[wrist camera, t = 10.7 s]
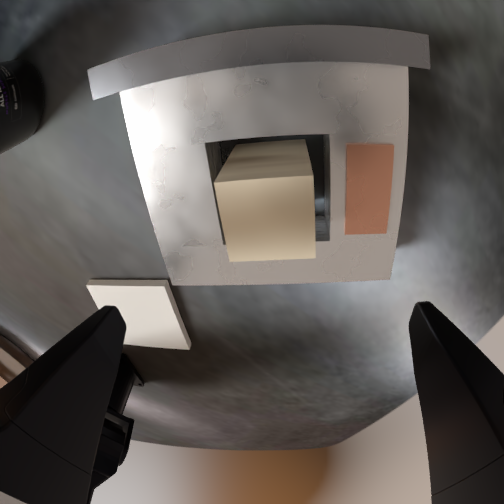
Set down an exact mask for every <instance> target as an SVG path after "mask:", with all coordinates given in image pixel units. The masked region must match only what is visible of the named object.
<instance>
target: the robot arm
mask: <svg viewBox="0 0 504 504" xmlns="http://www.w3.org/2000/svg"><path fill="white" fill-rule="evenodd" d="M125 334H126V323H125V321H124V319H123V317H122V315H121V313H120V311H119V309H118V308H117V307H116V306H111V305H105V306H103V307H102V308H100V309H99V310H98V311H97V312H95V313H94V314H93V315H91V316H90V317H89V318H88V319H86V320H85V321H84V322H82V323H81V324H80V325H79V326H77V327H76V328H75V329H74V330H72V331H71V332H70V333H69V334H67V335H66V336H65V337H64V338H62V339H61V340H60V341H59V342H57V343H56V344H55V345H54V346H52V347H51V348H50V349H49V350H47V351H46V352H45V353H44V354H43V355H41V356H40V357H39V358H38V359H36V360H35V361H34V362H33V363H32V364H30V365H29V367H27V368H26V369H24V370H23V371H22V372H21V373H20V374H19V375H17V376H16V377H15V378H14V379H12V380H11V381H10V382H9V383H7V384H6V385H5V386H3V387H2V388H1V389H0V504H90V502H91V499H92V495H93V492H94V489H95V488H96V487H98V486H99V485H100V484H102V483H103V482H104V481H106V480H107V479H108V478H110V477H111V476H112V475H114V474H115V473H116V472H117V467H118V466H120V465H121V464H122V463H123V461H124V459H125V457H126V454H127V452H128V449H129V444H130V439H131V434H132V429H133V424H134V419H132V418H128V417H126V416H124V415H122V414H123V411H124V409H125V406H126V403H127V400H128V398H129V395H130V392H131V389H132V387H133V385H135V386H141V387H143V386H144V384H145V383H144V381H143V380H142V379H141V377H140V376H139V374H138V373H137V371H136V370H135V368H134V367H133V365H132V364H131V362H130V361H129V359H128V358H127V356H126V355H124V354H121V353H122V348H123V343H124V339H125ZM409 334H410V341H411V349H412V357H413V367H414V375H415V380H416V385H417V390H418V395H419V400H420V406H421V411H422V417H423V424H424V430H425V436H426V444H427V452H428V460H429V470H430V482H431V494H432V496H431V499H432V504H504V374H503V373H502V372H501V371H500V370H499V369H498V368H497V367H496V366H495V365H494V364H493V363H492V362H491V361H490V360H489V359H488V358H487V356H486V355H484V353H483V352H482V351H481V350H480V349H479V348H478V347H477V346H476V345H475V344H474V343H473V342H472V341H471V340H470V339H469V338H468V337H467V336H466V335H465V334H464V333H463V332H462V331H460V330H459V329H458V328H457V327H456V326H455V325H454V324H453V323H452V322H451V321H450V320H449V319H448V318H447V317H446V316H445V315H444V314H443V313H442V312H440V311H439V310H438V309H437V308H436V307H435V306H434V305H433V304H432V303H431V302H428V301H425V302H417V303H416V304H415V306H414V309H413V312H412V315H411V318H410V321H409Z"/></svg>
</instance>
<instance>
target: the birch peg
mask: <svg viewBox="0 0 504 504" xmlns="http://www.w3.org/2000/svg"><path fill="white" fill-rule="evenodd" d="M214 186H215V191H216V197H217V202H218V207H219V212H220V217H221V222H222V227H223V232H224V237H225V242H226V247H227V251H228V256H229V261H230V262H241V261H265V260H289V259H311V258H316V244H315V203H314V178H313V172H312V167H311V163H310V158H309V154H308V150H307V146H306V142H305V139H297V140H281V141H268V142H256V143H246V144H236V145H235V147H234V148H233V150H232V152H231V153H230V155H229V157H228V159H227V160H226V162H225V164H224V166H223V167H222V169H221V171H220V173H219V174H218V176H217V178H216V180H215V182H214Z"/></svg>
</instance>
